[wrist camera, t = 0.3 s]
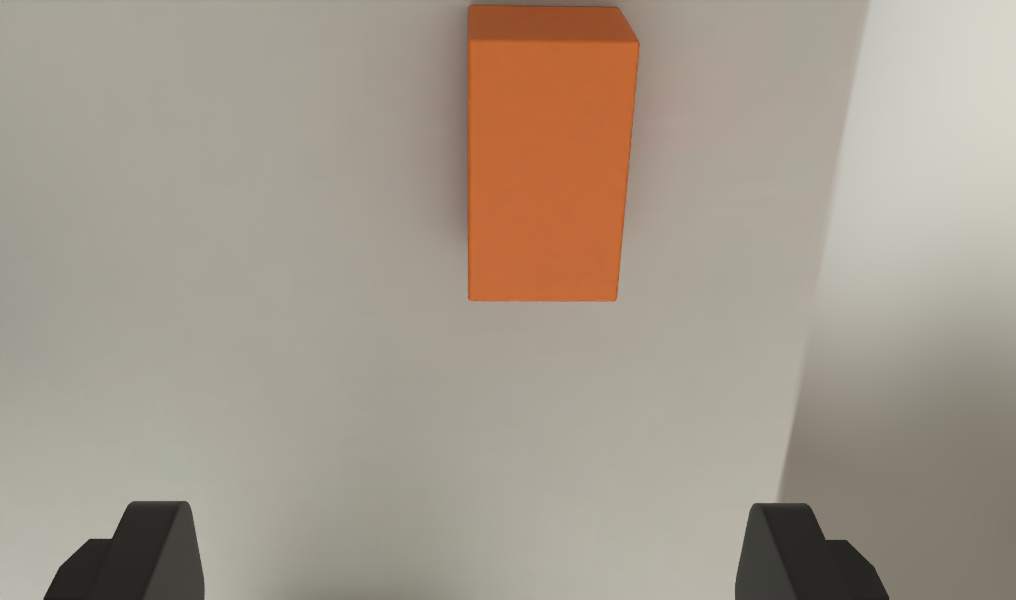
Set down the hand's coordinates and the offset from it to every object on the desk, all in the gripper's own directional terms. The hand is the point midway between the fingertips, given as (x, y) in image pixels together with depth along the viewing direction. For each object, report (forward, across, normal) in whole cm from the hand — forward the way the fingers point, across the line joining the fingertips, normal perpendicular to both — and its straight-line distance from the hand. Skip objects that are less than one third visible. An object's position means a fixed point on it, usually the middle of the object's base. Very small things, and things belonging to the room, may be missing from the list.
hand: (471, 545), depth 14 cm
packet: (+15, -2, -1) cm, 15 cm away
